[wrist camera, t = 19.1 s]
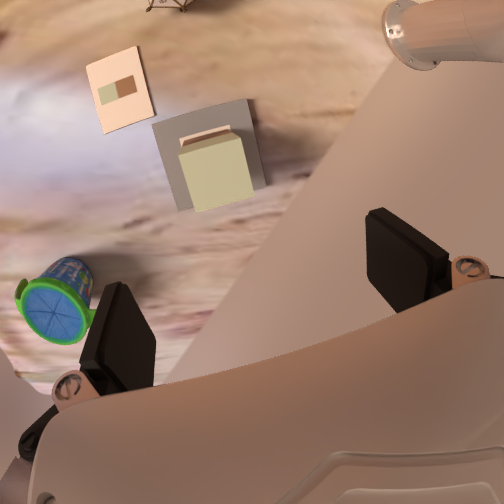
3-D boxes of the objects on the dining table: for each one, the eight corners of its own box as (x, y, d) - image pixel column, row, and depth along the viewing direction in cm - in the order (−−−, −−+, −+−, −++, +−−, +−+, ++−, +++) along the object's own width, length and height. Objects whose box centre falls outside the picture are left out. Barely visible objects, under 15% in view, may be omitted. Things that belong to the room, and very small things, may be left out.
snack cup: (121, 256, 41) (105, 296, 32) (117, 312, 46) (105, 356, 37) (30, 237, 37) (0, 271, 28) (35, 293, 41) (12, 331, 32)
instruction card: (136, 46, 29) (136, 45, 28) (154, 115, 34) (154, 115, 33) (86, 66, 28) (85, 66, 28) (104, 134, 33) (103, 134, 33)
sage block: (232, 132, 30) (240, 137, 25) (244, 180, 32) (254, 196, 27) (181, 146, 29) (178, 155, 24) (195, 194, 32) (196, 213, 27)
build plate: (245, 98, 35) (246, 98, 34) (264, 184, 41) (266, 186, 39) (152, 124, 34) (151, 124, 33) (178, 208, 40) (178, 211, 39)
